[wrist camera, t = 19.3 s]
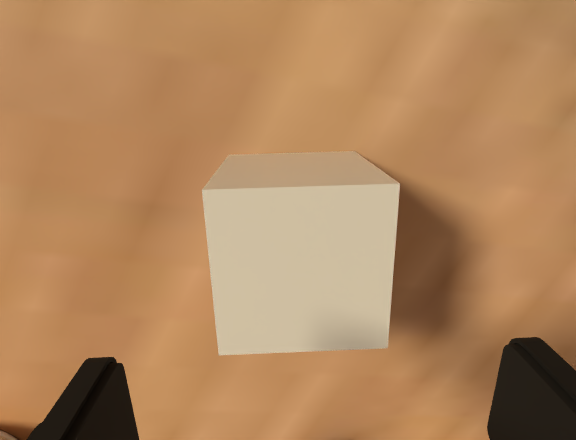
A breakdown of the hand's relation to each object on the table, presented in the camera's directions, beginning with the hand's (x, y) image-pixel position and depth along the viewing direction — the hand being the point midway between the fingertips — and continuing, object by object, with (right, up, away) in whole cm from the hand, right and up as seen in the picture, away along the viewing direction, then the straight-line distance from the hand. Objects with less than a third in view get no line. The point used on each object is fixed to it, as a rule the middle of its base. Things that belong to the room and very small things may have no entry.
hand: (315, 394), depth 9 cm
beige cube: (0, +5, +15) cm, 16 cm away
